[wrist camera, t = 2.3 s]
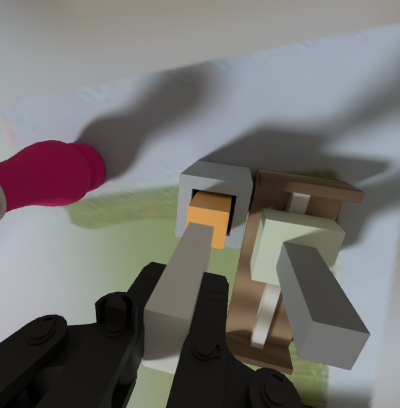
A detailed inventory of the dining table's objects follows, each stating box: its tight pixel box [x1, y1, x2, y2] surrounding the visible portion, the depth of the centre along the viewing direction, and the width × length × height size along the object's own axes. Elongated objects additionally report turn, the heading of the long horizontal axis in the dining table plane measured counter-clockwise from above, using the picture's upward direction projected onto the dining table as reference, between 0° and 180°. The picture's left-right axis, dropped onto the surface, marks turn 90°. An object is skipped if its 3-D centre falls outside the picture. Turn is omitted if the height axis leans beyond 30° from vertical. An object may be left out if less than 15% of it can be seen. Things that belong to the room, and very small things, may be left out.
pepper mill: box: [0, 140, 105, 220], centre depth 19 cm, size 7×7×20 cm
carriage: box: [250, 208, 370, 370], centre depth 18 cm, size 7×7×12 cm
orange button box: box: [175, 160, 253, 249], centre depth 22 cm, size 6×6×8 cm
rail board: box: [225, 169, 365, 375], centre depth 26 cm, size 25×9×4 cm, turn 174°
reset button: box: [186, 190, 232, 249], centre depth 19 cm, size 3×3×6 cm
